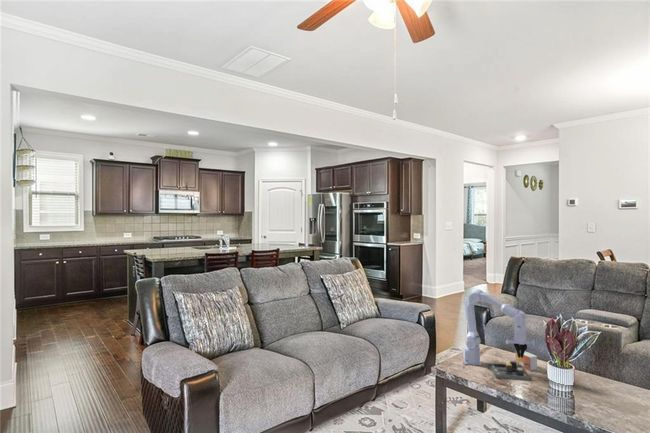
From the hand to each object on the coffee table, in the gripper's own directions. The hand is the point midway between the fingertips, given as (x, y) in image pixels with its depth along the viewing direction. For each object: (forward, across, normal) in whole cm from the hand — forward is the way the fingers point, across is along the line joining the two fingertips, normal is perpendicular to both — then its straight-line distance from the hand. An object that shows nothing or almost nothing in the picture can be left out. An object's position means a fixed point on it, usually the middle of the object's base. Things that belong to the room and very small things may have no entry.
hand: (520, 357), depth 211 cm
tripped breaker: (+8, -6, 0) cm, 10 cm away
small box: (+6, +4, +15) cm, 17 cm away
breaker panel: (+9, -6, 0) cm, 11 cm away
